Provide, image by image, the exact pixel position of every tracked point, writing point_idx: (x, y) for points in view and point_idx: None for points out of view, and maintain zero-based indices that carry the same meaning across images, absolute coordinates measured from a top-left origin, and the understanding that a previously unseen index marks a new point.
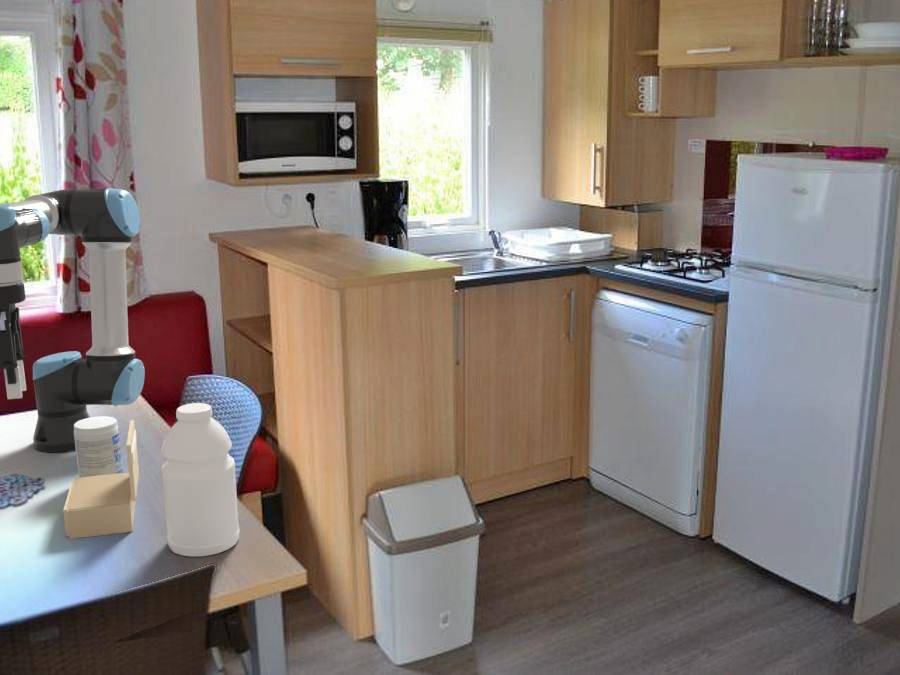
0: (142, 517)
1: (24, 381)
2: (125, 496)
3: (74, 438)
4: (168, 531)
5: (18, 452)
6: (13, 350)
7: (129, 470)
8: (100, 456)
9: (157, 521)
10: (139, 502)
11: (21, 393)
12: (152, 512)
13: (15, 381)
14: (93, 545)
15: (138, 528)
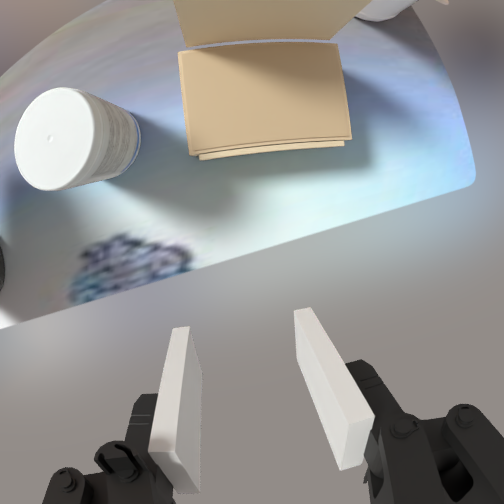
0: None
1: (186, 354)
2: (307, 49)
3: (80, 184)
4: (392, 13)
5: (10, 311)
6: (500, 491)
7: (352, 17)
8: (121, 121)
9: None
10: None
11: (314, 318)
12: None
13: (367, 366)
14: (357, 106)
15: None
